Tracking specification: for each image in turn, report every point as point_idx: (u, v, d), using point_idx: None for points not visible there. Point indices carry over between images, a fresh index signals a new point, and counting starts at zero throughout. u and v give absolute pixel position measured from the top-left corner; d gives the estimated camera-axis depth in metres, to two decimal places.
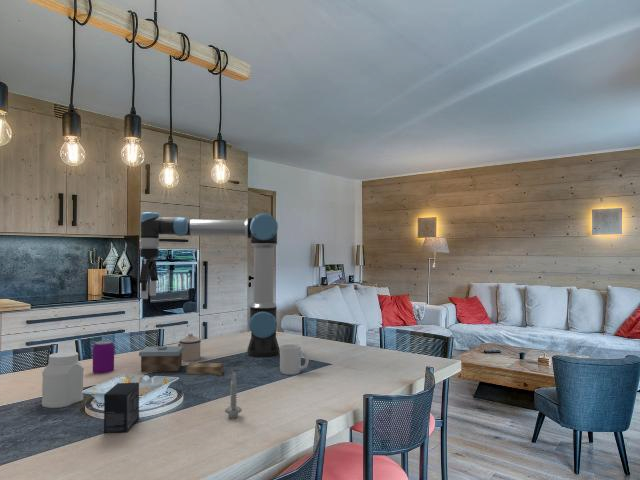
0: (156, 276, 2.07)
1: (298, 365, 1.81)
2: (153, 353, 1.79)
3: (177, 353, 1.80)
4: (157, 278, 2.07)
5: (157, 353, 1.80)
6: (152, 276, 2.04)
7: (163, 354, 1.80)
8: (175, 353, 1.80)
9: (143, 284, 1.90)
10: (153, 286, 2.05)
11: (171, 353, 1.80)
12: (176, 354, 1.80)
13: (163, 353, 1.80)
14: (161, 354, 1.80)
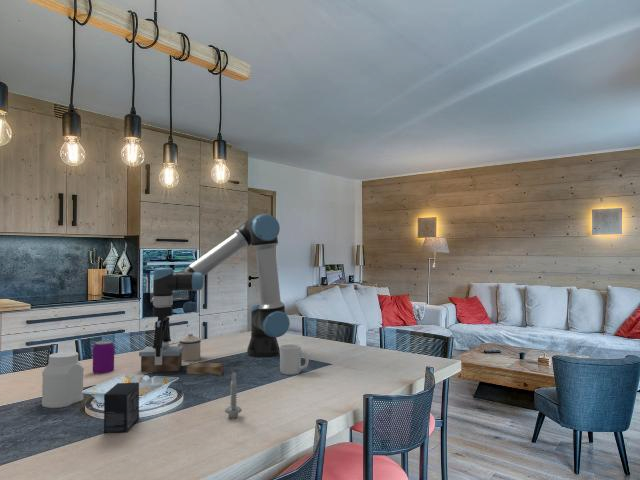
0: (168, 336, 1.92)
1: (298, 365, 1.81)
2: (153, 353, 1.79)
3: (177, 353, 1.80)
4: (170, 339, 1.92)
5: None
6: (164, 336, 1.90)
7: (163, 354, 1.80)
8: (175, 353, 1.80)
9: (157, 349, 1.78)
10: None
11: (171, 353, 1.80)
12: (176, 354, 1.80)
13: (163, 353, 1.80)
14: None
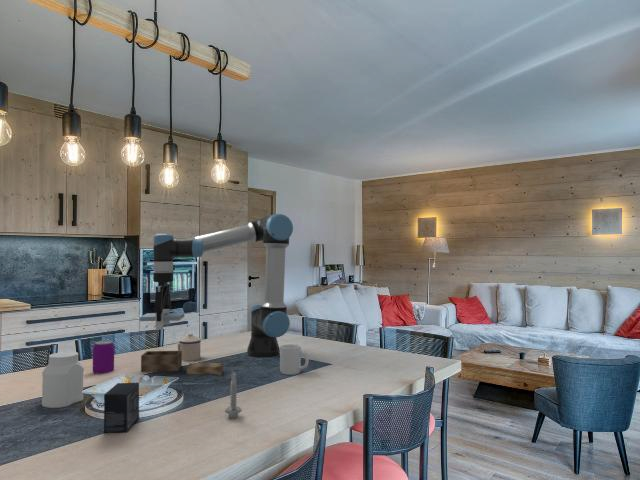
0: (169, 303, 1.93)
1: (298, 365, 1.81)
2: (154, 318, 1.80)
3: (178, 318, 1.81)
4: (170, 306, 1.92)
5: None
6: (165, 303, 1.90)
7: (164, 319, 1.80)
8: (176, 318, 1.81)
9: (158, 314, 1.78)
10: None
11: (172, 318, 1.80)
12: (177, 319, 1.81)
13: (164, 318, 1.80)
14: None
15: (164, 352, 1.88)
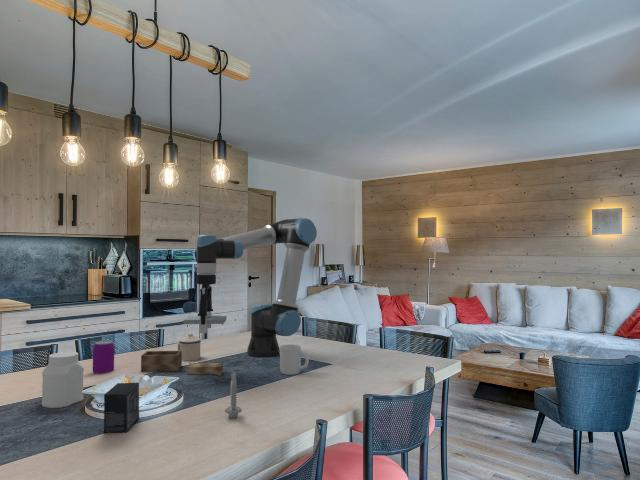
0: (210, 306, 1.88)
1: (298, 365, 1.81)
2: (198, 321, 1.75)
3: (222, 321, 1.76)
4: None
5: None
6: (207, 306, 1.85)
7: (208, 322, 1.75)
8: (220, 321, 1.76)
9: (202, 317, 1.73)
10: None
11: (216, 321, 1.76)
12: (221, 322, 1.76)
13: (208, 321, 1.75)
14: None
15: (164, 352, 1.88)
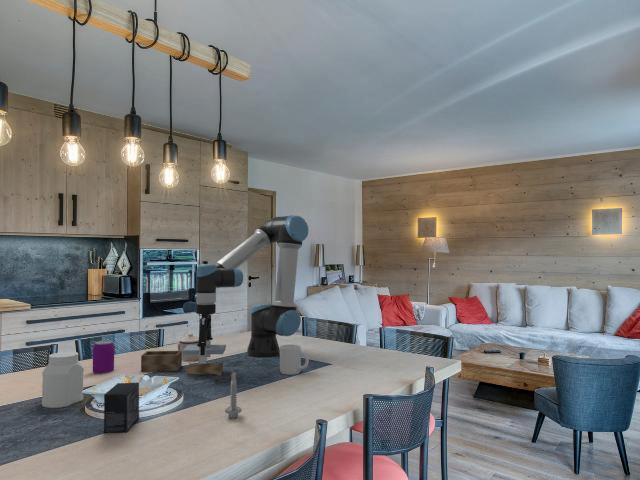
0: None
1: (298, 365, 1.81)
2: (197, 351, 1.75)
3: (221, 352, 1.76)
4: None
5: None
6: (206, 335, 1.85)
7: (207, 352, 1.75)
8: (219, 352, 1.76)
9: (202, 348, 1.73)
10: None
11: (215, 352, 1.75)
12: (220, 353, 1.76)
13: (207, 351, 1.75)
14: None
15: (164, 352, 1.88)
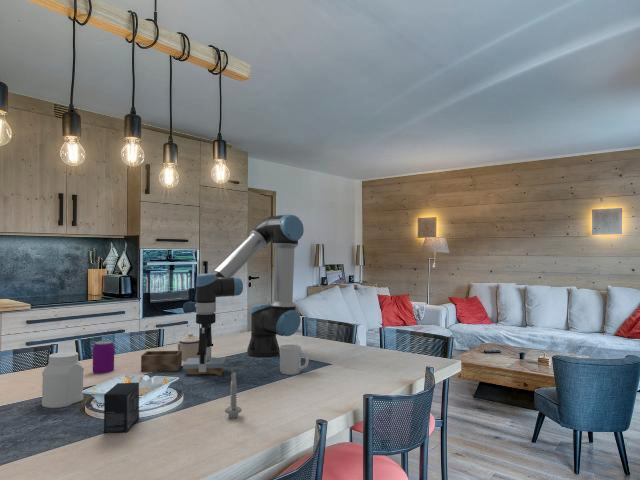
0: (210, 341, 1.89)
1: (298, 365, 1.81)
2: (197, 365, 1.75)
3: (222, 365, 1.76)
4: None
5: None
6: (207, 342, 1.86)
7: (207, 366, 1.75)
8: (220, 365, 1.76)
9: (201, 356, 1.72)
10: (208, 353, 1.87)
11: (216, 365, 1.75)
12: (221, 366, 1.76)
13: (207, 365, 1.75)
14: None
15: (164, 352, 1.88)
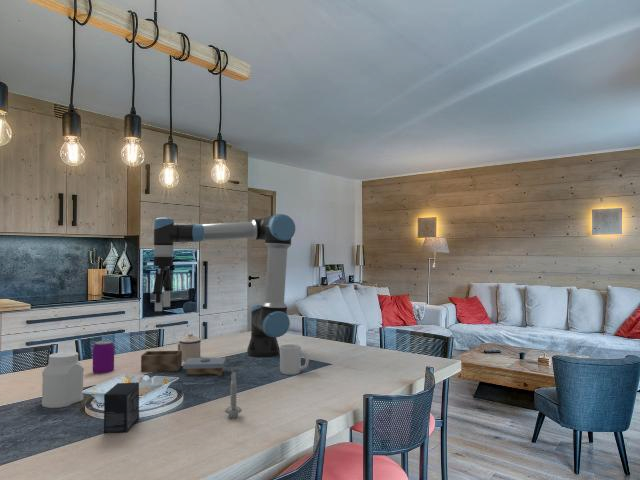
0: (170, 286, 1.94)
1: (298, 365, 1.81)
2: (197, 365, 1.75)
3: (222, 365, 1.76)
4: (171, 288, 1.94)
5: (201, 365, 1.75)
6: (166, 286, 1.91)
7: (207, 366, 1.75)
8: (220, 365, 1.76)
9: (157, 295, 1.77)
10: (167, 296, 1.92)
11: (216, 365, 1.75)
12: (221, 366, 1.76)
13: (207, 365, 1.75)
14: (205, 366, 1.75)
15: (164, 352, 1.88)
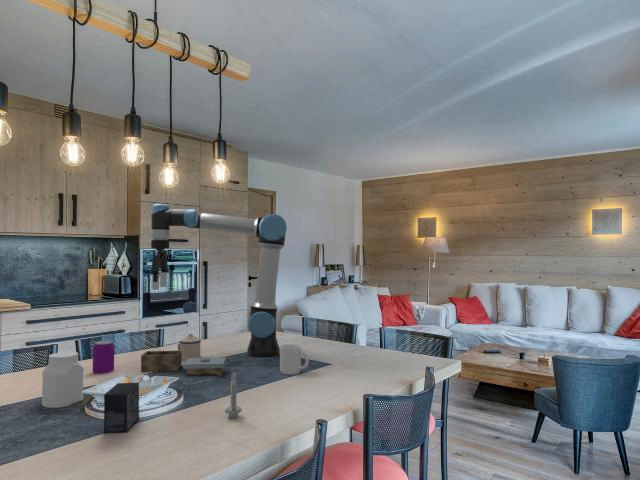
0: (166, 268, 2.09)
1: (298, 365, 1.81)
2: (197, 365, 1.75)
3: (222, 365, 1.76)
4: (167, 270, 2.09)
5: (201, 365, 1.75)
6: (163, 268, 2.06)
7: (207, 366, 1.75)
8: (220, 365, 1.76)
9: (154, 275, 1.92)
10: (163, 277, 2.07)
11: (216, 365, 1.75)
12: (221, 366, 1.76)
13: (207, 365, 1.75)
14: (205, 366, 1.75)
15: (164, 352, 1.88)
